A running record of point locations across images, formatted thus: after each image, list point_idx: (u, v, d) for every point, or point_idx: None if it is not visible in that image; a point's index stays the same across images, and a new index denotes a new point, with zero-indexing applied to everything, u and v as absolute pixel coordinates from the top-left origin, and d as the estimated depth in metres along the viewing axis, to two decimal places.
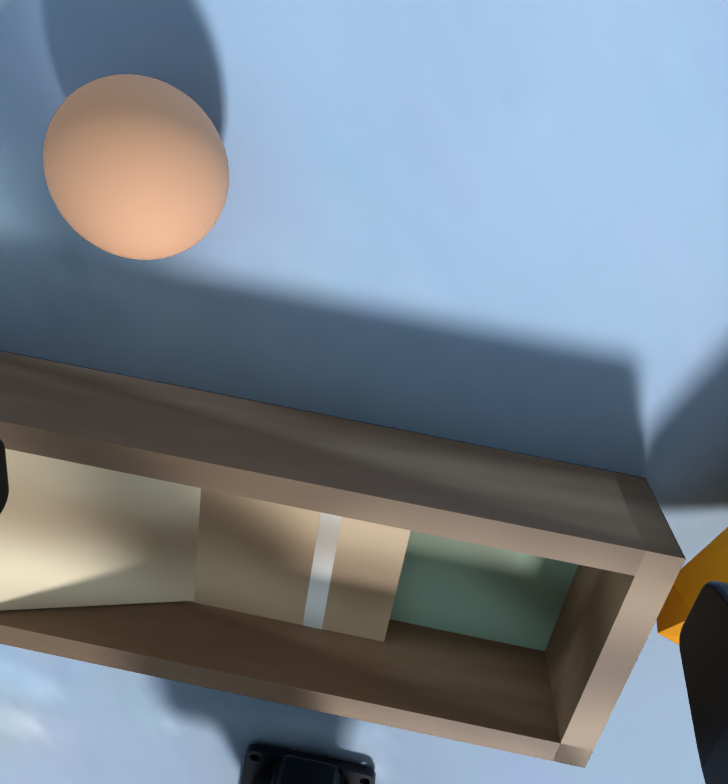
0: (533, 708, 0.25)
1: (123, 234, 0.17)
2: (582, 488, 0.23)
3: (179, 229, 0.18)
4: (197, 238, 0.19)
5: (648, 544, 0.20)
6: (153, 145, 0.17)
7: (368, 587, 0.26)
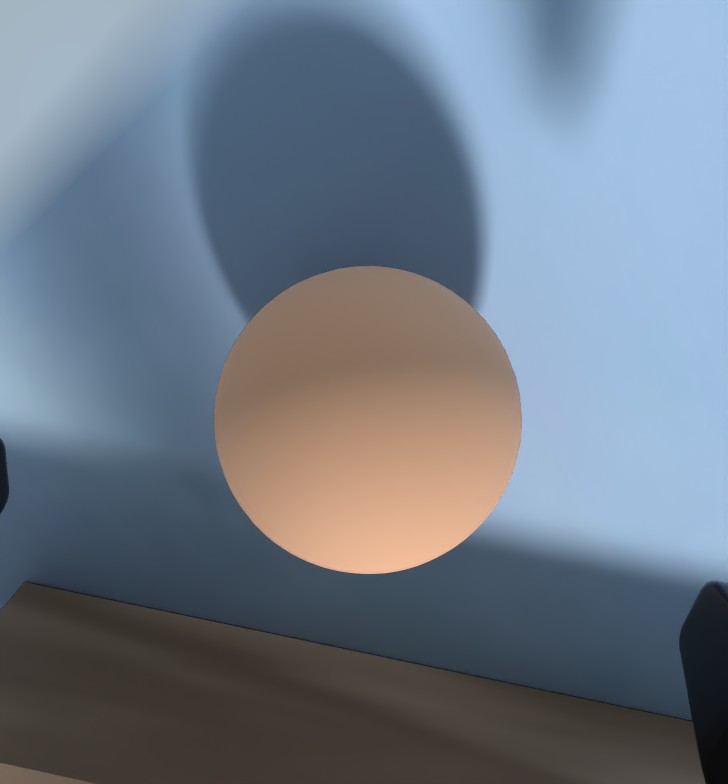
0: None
1: (368, 567, 0.10)
2: None
3: (457, 544, 0.10)
4: None
5: None
6: (452, 434, 0.09)
7: None
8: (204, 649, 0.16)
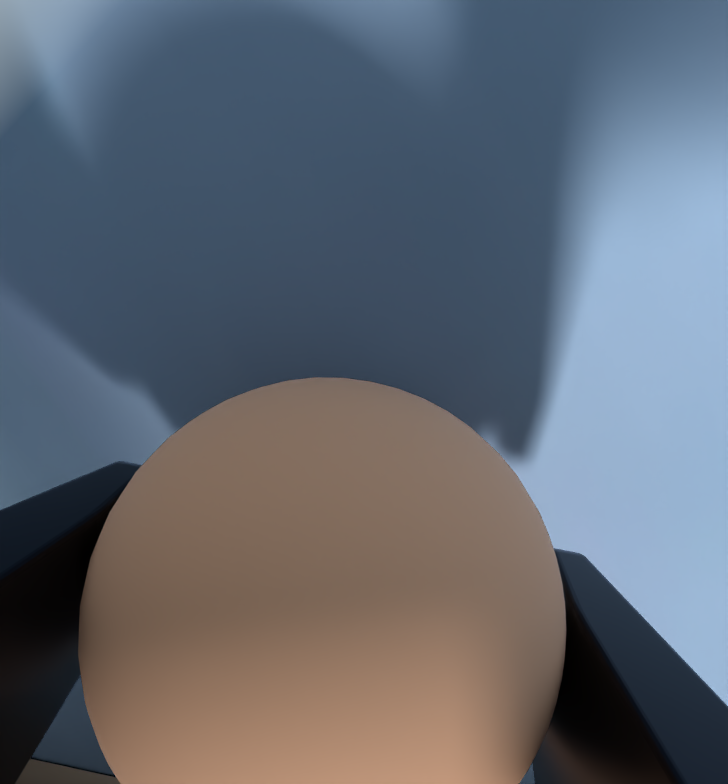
0: None
1: None
2: None
3: None
4: None
5: None
6: (456, 716, 0.05)
7: None
8: None
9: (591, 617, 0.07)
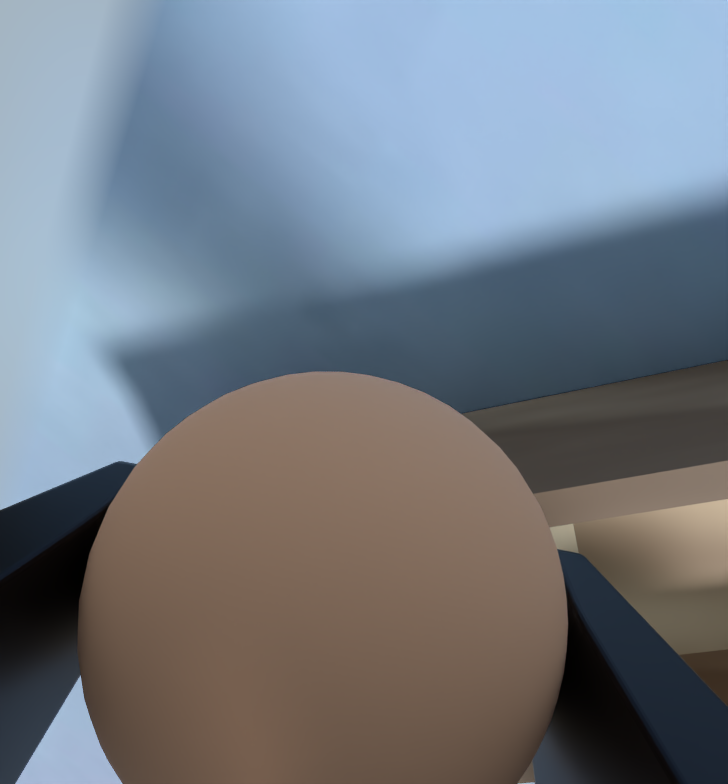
0: None
1: None
2: None
3: None
4: None
5: None
6: (458, 710, 0.05)
7: None
8: None
9: (591, 617, 0.07)
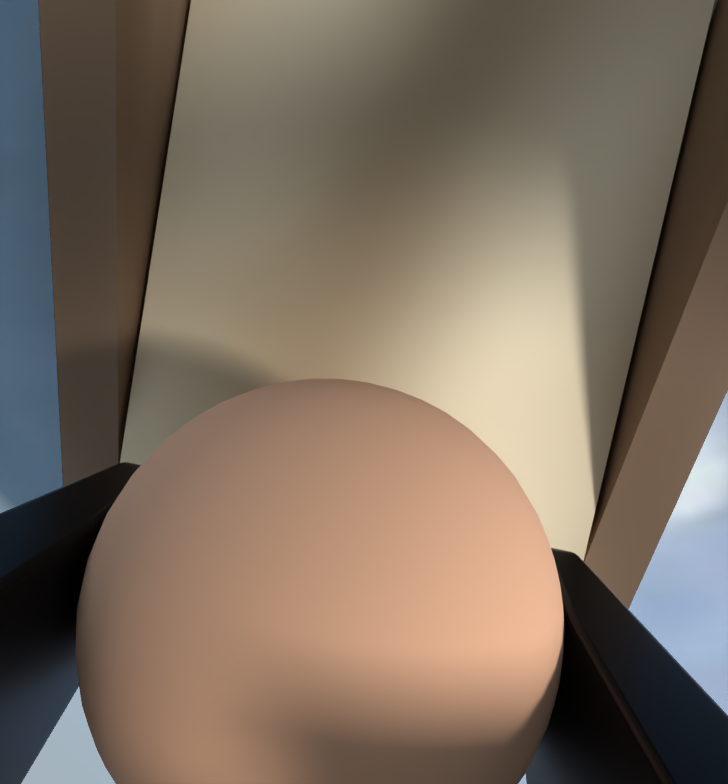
0: None
1: None
2: None
3: None
4: None
5: None
6: (454, 720, 0.05)
7: None
8: None
9: (582, 615, 0.07)
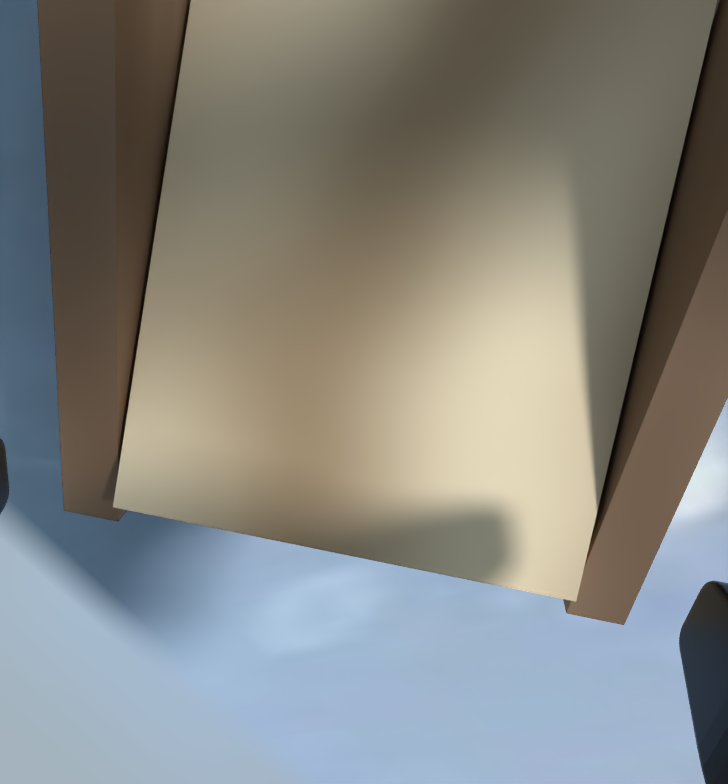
0: None
1: None
2: None
3: None
4: None
5: None
6: None
7: None
8: None
9: None
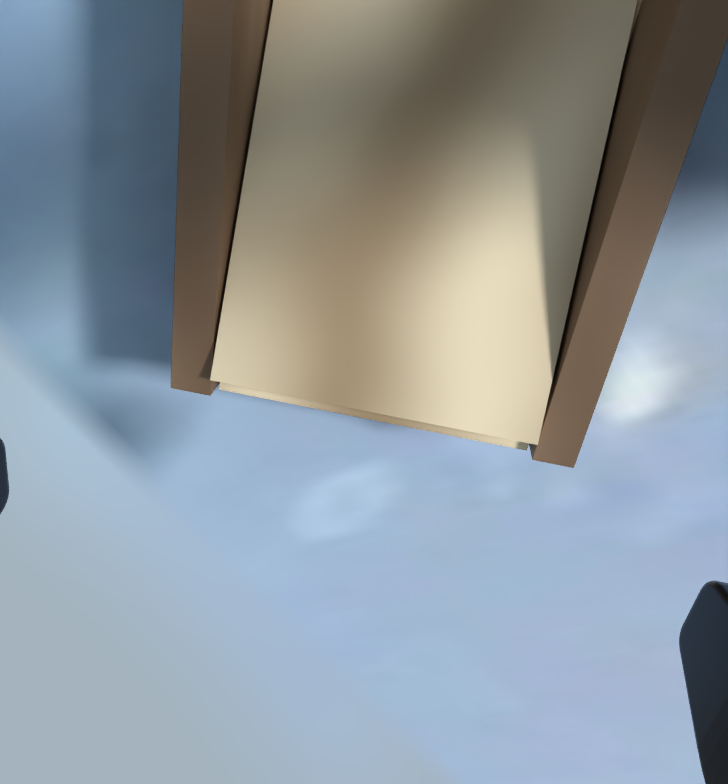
0: None
1: None
2: None
3: None
4: None
5: None
6: None
7: None
8: None
9: None
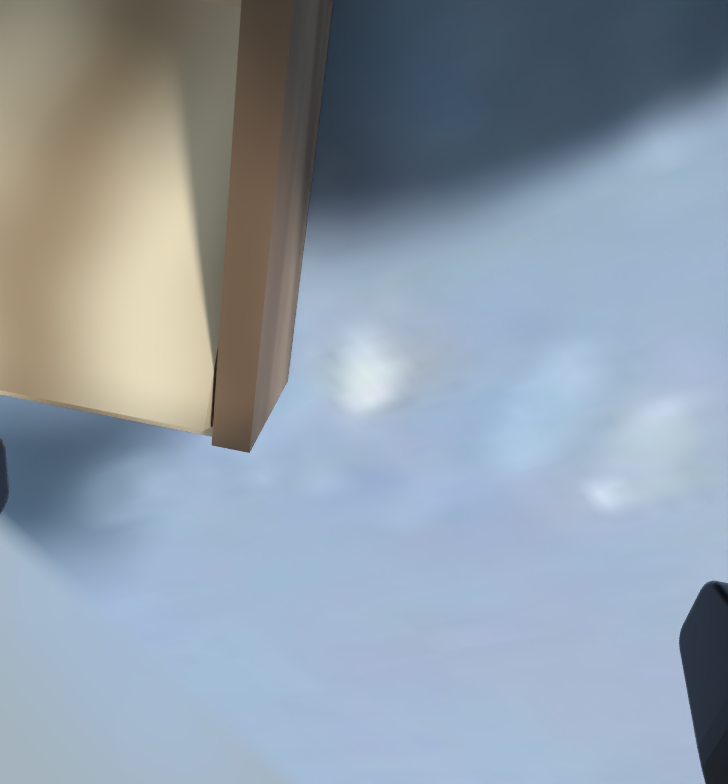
0: None
1: None
2: None
3: None
4: None
5: None
6: None
7: None
8: None
9: None
